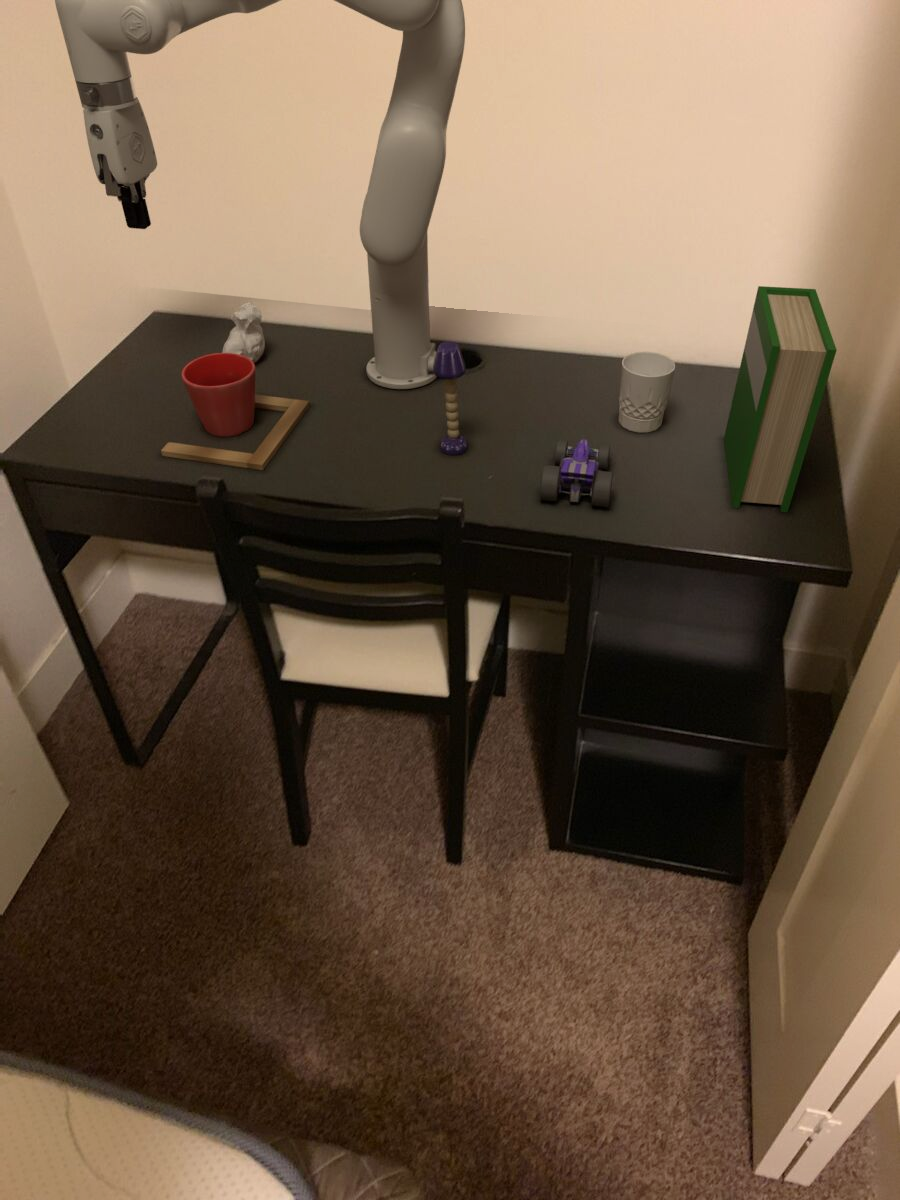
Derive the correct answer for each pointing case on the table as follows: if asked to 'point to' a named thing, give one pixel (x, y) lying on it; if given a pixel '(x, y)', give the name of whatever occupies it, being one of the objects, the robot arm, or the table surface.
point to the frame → (264, 451)
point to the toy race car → (578, 473)
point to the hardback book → (777, 395)
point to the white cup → (644, 390)
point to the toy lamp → (451, 394)
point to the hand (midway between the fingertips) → (139, 226)
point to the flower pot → (222, 392)
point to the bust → (246, 333)
